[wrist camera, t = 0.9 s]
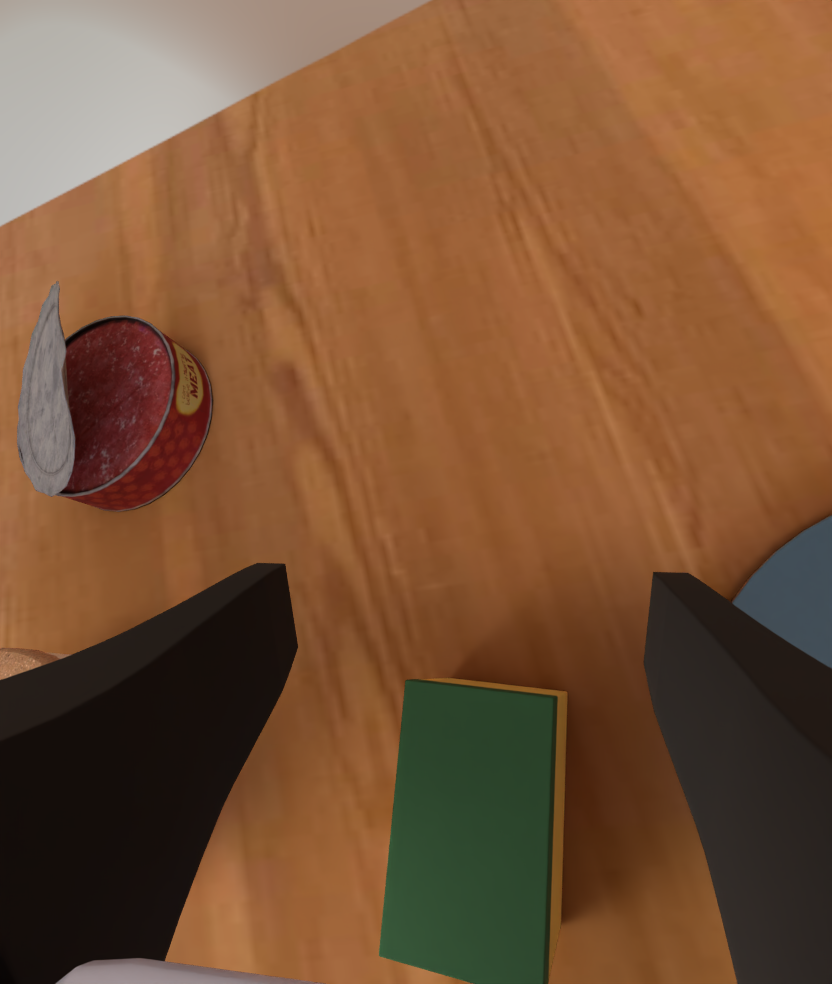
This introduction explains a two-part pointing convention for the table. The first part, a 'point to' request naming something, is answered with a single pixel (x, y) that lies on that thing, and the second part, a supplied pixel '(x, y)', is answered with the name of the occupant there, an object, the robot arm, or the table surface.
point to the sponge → (477, 831)
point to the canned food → (109, 410)
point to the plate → (796, 592)
